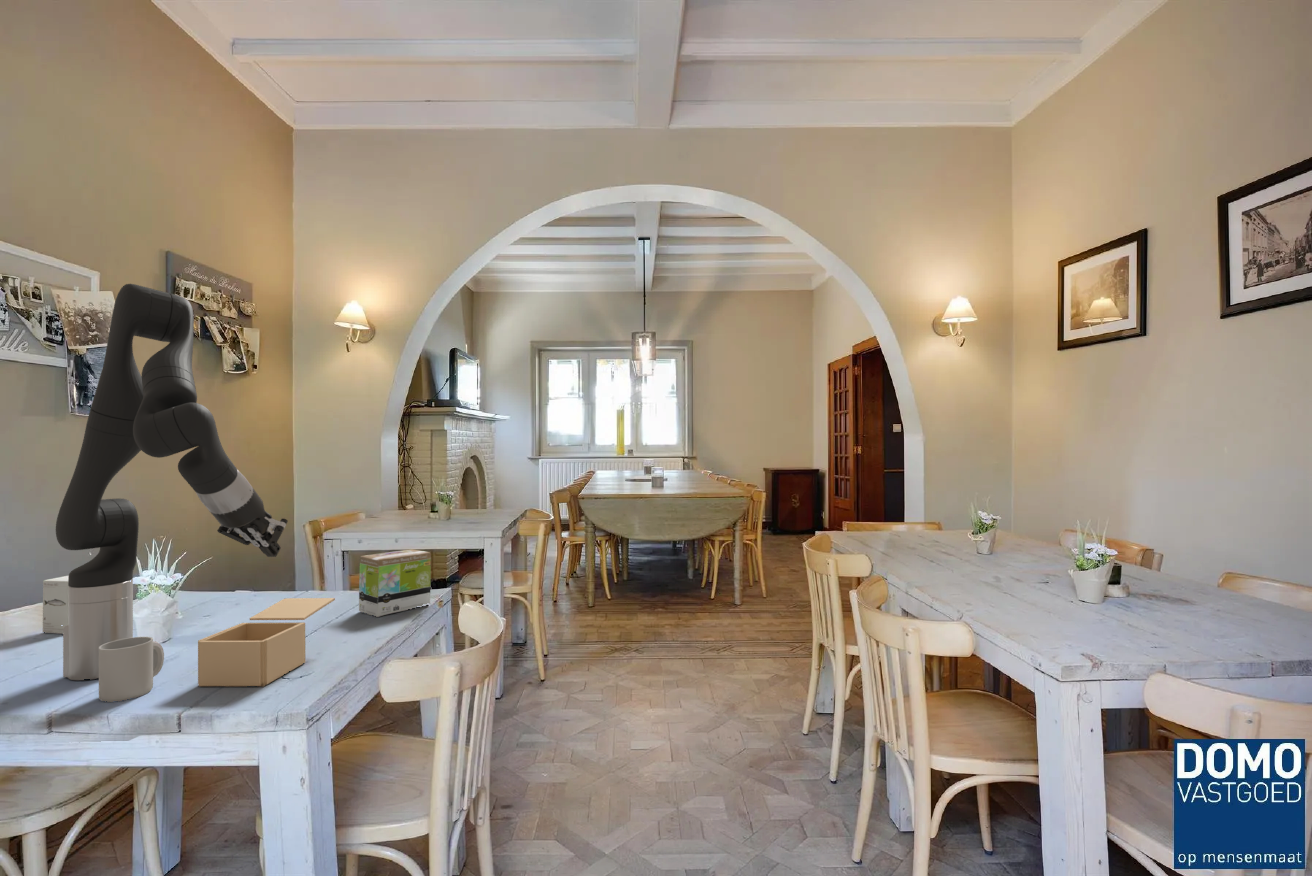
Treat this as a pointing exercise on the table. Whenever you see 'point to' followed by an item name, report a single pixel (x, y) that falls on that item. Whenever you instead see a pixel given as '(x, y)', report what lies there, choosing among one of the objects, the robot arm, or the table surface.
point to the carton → (250, 654)
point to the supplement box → (55, 605)
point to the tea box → (394, 581)
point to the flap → (293, 609)
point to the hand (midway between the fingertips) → (274, 553)
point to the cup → (128, 668)
